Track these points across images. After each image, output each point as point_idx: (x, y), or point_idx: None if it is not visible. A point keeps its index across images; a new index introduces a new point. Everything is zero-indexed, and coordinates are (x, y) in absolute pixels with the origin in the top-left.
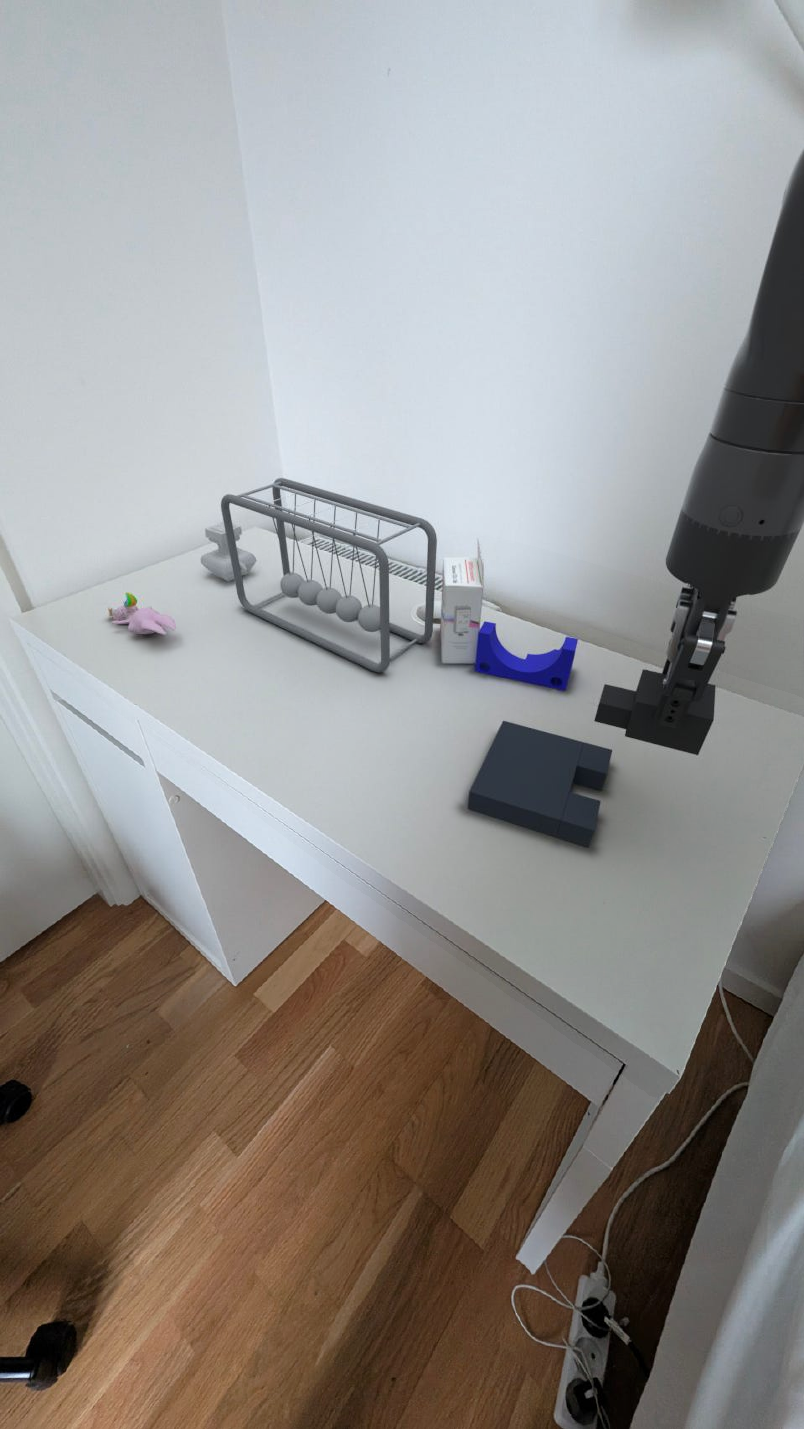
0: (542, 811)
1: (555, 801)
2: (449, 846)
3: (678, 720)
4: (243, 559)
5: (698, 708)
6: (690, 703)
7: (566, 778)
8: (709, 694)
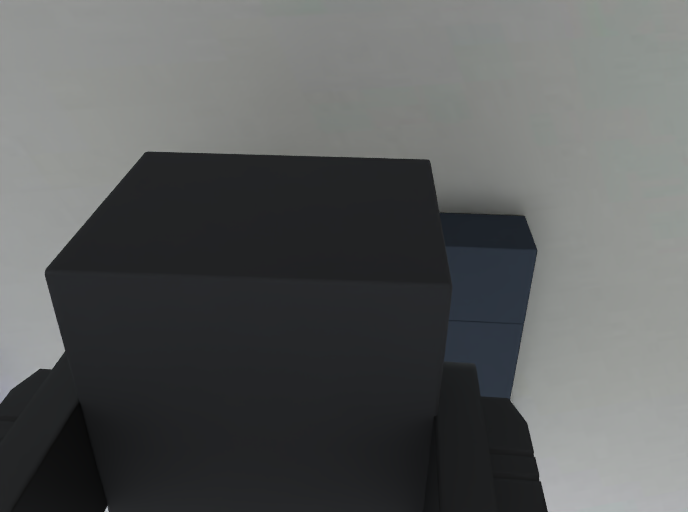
0: (507, 364)
1: (461, 343)
2: (600, 457)
3: (531, 449)
4: None
5: (366, 362)
6: (496, 508)
7: None
8: (179, 307)
